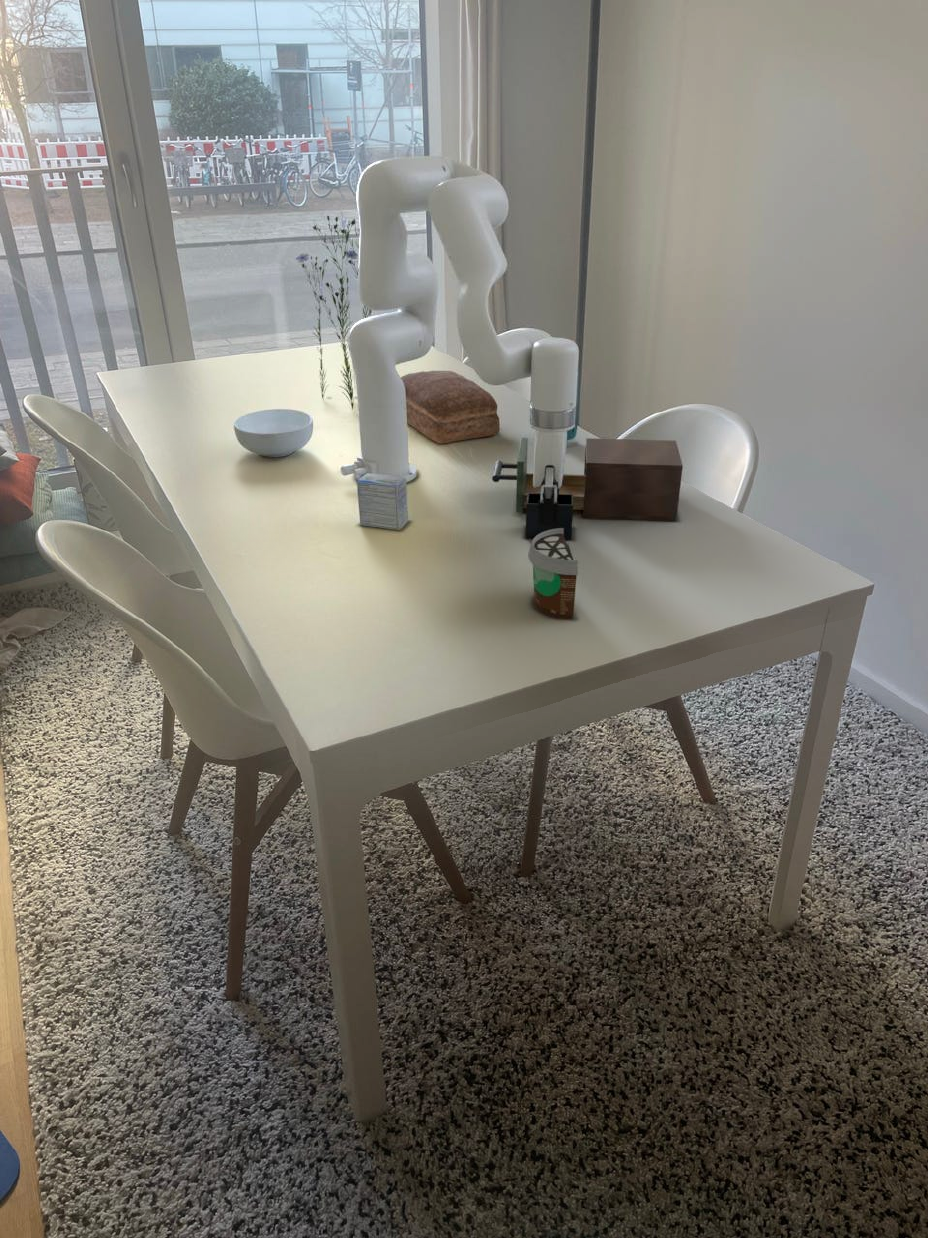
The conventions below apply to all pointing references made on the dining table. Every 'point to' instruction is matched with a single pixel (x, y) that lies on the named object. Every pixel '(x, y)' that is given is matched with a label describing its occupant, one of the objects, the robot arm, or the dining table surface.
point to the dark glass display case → (562, 519)
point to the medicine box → (382, 501)
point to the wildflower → (350, 255)
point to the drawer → (525, 481)
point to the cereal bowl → (274, 431)
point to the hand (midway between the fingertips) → (548, 512)
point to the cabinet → (632, 479)
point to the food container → (553, 574)
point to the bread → (449, 406)
